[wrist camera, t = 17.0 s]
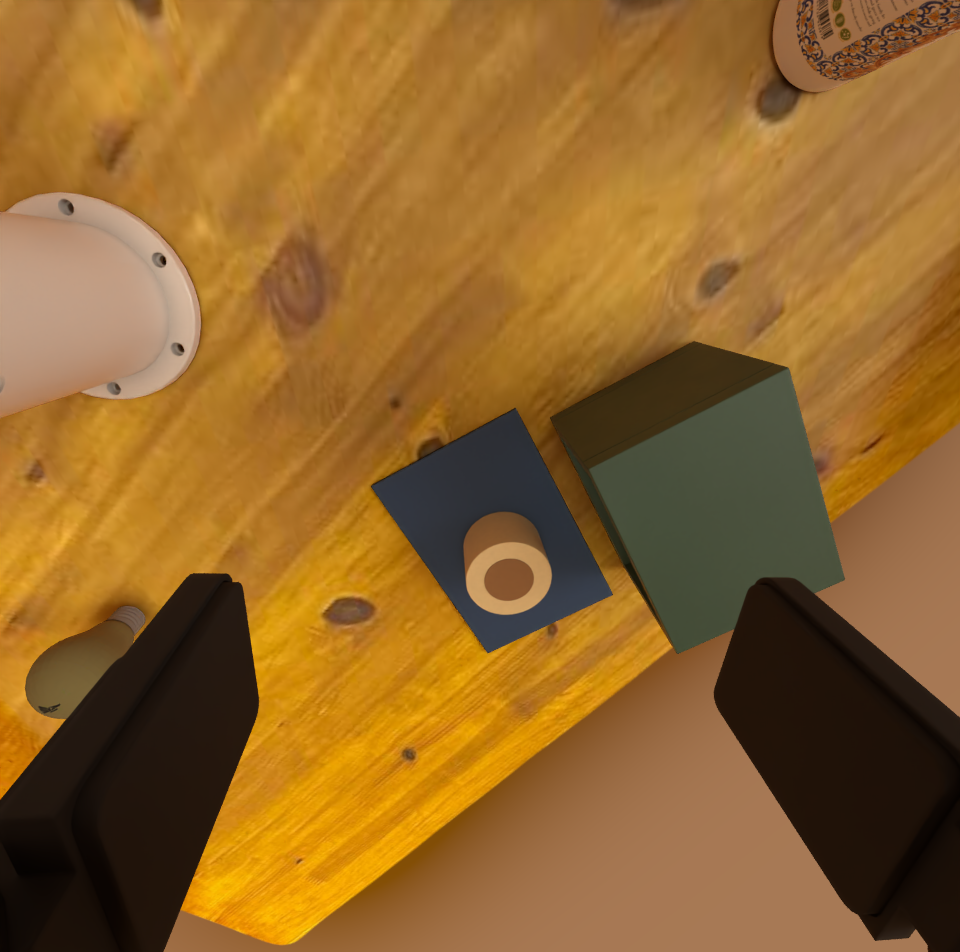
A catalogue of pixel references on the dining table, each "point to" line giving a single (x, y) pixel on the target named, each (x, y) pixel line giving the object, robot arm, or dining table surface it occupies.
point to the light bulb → (80, 663)
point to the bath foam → (854, 36)
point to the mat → (482, 491)
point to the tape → (505, 564)
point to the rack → (703, 485)
